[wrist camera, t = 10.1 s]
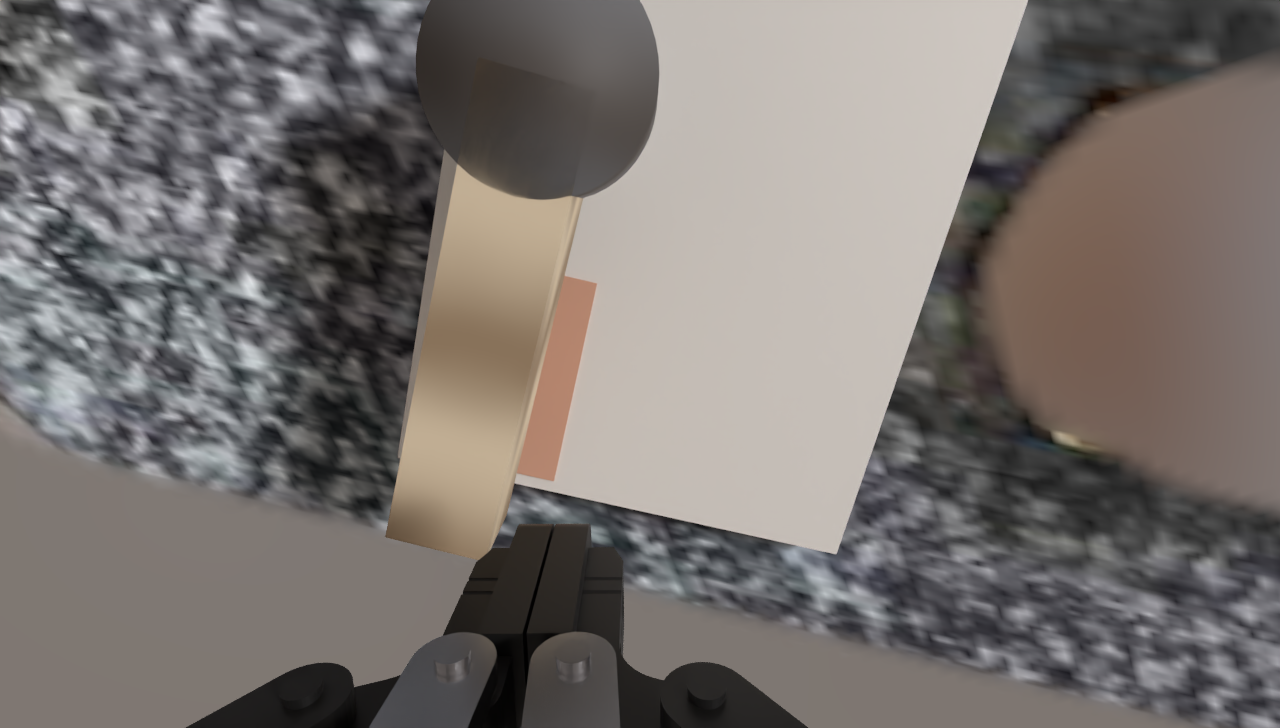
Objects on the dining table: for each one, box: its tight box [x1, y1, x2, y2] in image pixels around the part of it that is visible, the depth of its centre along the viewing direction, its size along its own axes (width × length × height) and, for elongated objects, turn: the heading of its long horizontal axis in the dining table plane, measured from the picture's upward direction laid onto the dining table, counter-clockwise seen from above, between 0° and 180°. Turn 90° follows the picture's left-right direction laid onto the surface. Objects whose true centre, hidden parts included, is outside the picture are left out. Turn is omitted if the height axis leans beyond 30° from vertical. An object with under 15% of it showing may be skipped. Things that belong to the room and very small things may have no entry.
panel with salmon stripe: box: [398, 0, 1028, 554], centre depth 22 cm, size 18×22×4 cm
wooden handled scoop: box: [386, 0, 659, 560], centre depth 18 cm, size 16×6×3 cm, turn 165°
